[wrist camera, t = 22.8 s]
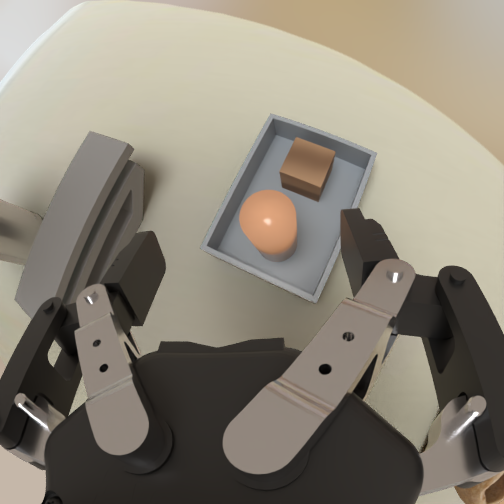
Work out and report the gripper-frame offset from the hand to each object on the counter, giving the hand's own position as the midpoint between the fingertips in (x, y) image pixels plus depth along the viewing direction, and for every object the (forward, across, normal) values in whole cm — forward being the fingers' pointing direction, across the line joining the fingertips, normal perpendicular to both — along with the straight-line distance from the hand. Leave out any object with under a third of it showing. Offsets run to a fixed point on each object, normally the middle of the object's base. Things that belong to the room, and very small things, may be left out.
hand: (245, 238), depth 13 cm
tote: (+24, -2, +11) cm, 26 cm away
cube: (+26, -5, +8) cm, 28 cm away
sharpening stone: (+23, +25, +12) cm, 36 cm away
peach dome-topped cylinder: (+20, 0, +14) cm, 25 cm away
